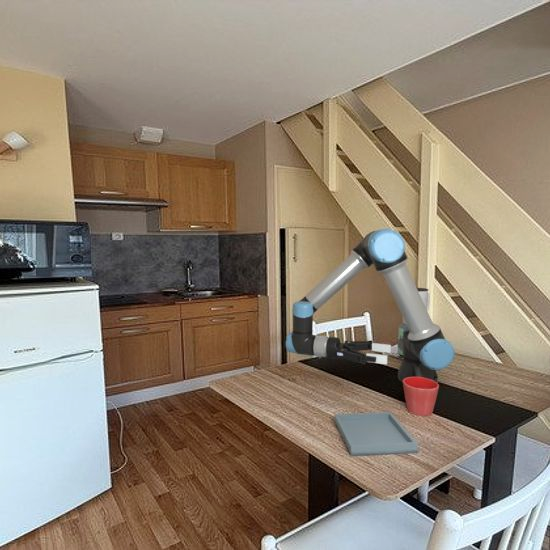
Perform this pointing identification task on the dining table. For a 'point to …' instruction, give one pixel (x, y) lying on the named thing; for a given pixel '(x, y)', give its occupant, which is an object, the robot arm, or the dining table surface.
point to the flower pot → (420, 395)
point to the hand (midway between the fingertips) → (389, 354)
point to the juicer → (425, 299)
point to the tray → (374, 434)
